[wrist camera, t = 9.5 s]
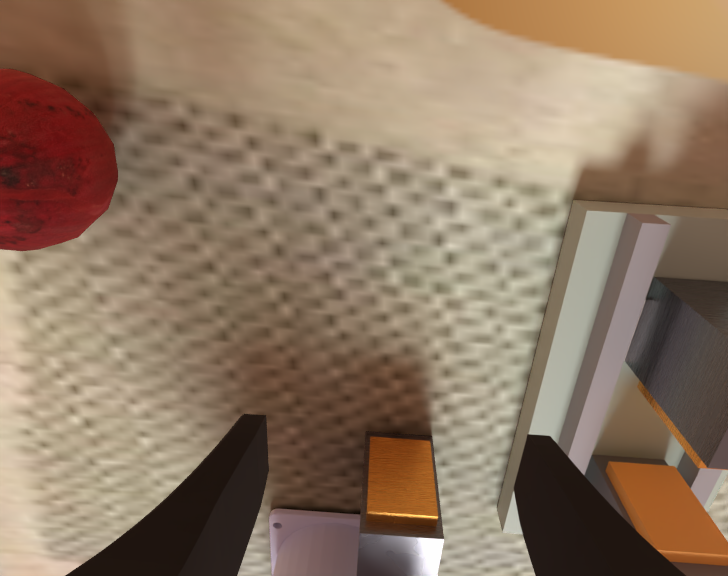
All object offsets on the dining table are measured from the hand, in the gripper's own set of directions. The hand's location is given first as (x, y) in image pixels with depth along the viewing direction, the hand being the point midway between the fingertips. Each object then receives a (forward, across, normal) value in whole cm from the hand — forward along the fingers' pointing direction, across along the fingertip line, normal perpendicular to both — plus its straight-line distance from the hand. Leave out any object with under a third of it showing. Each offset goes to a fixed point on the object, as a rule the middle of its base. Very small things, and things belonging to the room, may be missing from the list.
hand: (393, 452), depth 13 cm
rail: (+9, -12, +4) cm, 16 cm away
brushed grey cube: (+8, -12, 0) cm, 14 cm away
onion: (+10, +13, -6) cm, 17 cm away
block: (+10, -1, +10) cm, 14 cm away
